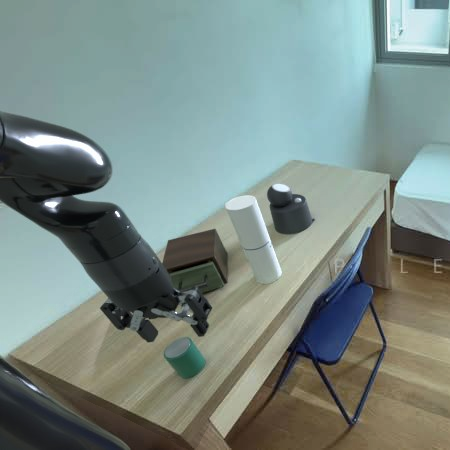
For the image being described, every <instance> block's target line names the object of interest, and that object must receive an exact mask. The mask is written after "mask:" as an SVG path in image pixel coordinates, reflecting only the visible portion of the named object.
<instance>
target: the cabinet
mask: <svg viewBox="0 0 450 450" xmlns="http://www.w3.org/2000/svg"><path fill="white" fill-rule="evenodd" d="M210 259H212V260H213V262H214V264H215V266H216V268H217V270H218V272H219V274H220V276H221V278H222V280H223V282H224V284H227V283H228V252H227V250H226V248H225V246H224V244H223V242H222V239H221V237H220V235H219V233H218V231H217V228H212V229H208V230H204V231H200V232H196V233H192V234H187V235H184V236H180V237H179V236H178V237H176V238H171V239H167V243H166V247H165V251H164V255H163V258H162V261H161V263H162V264H163V266H164V267H165V269H166V270H167V271H171V270H174V269H178V268H182V267H185V266H189V265H192V264H196V263H199V262H203V261H207V260H210ZM168 273H169V272H168Z"/></svg>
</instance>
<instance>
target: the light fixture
mask: <svg viewBox="0 0 450 450" xmlns="http://www.w3.org/2000/svg"><path fill="white" fill-rule="evenodd" d="M266 198H267V200H268V202H269V210H270V215H271V218H272V222H273V226H274V230H275V231H276V232H277V233H279V234H282V235H294V234H298V233H301V232H303V231H305V230H307V229H308V228H309V227H311V225H312V224H313V222H314V221H316V219H315V218H313V217H312V214H311V210H310V207H309V204H308V201H307V198H306V196H304V195H302V194H298V193H293V191H292V190H291V188H290V187H289V186H288V185H286V184H283V183H273V184H272V185H271V186H269V187H268V189H267V191H266Z"/></svg>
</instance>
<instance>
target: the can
mask: <svg viewBox="0 0 450 450" xmlns="http://www.w3.org/2000/svg"><path fill="white" fill-rule="evenodd" d="M163 358H164V359H165V361H167V362H168V364H169V365H170V366H171V368H172V369H173V370H174V371H175V372H176V373H177V374H178V376H179V377H180V378H182V379H190V378H193V377H194V376H196V375H198V374H199V373H200V372H201V371H203V369H204V368H205V365H206V358H205V357H204V355H203V354H202V352H201V351H200V350H199V348H198V346H197V345H196V344H195V342H194V341H193V339H192V338H191V337H188V336H187V337H186V336H183V337H179V338H177V339H175V340H173V341H171V342H170V343H169V344H168V345H167V346H166V347H165V349H164V351H163Z"/></svg>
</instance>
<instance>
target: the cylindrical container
mask: <svg viewBox="0 0 450 450" xmlns="http://www.w3.org/2000/svg"><path fill="white" fill-rule="evenodd" d="M224 208H225V209H226V212H227V215H228V216H229V220H230V222H231V224H232V227H233V229H234V231H235V234H236V235H237V238H238V240H239V243H240V246H241V247H242V250H243V252H244V254H245V257H246V259H247V261H248V264H249V266H250V269H251V270H252V272H253V275H254V278H255V280H256V282H257V283H258V284H261V285H268V284H272V283H274V282H276V281H277V280H278V279H280V278H281V276H282V273H283V272H282V268H281V265H280V263H279V260H278V257H277V254H276V252H275V249H274V246H273V243H272V240H271V237H270V235H269V231H268V228H267V226H266V223H265V220H264V217H263V214H262V212H261V209H260V206H259V204H258V200H257V198H256V196H254V195H251V194H250V195H249V194H246V195H245V194H244V195H238V196H236V197H233V198H231V199H230V200H228V201H227V202H225V204H224Z"/></svg>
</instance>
